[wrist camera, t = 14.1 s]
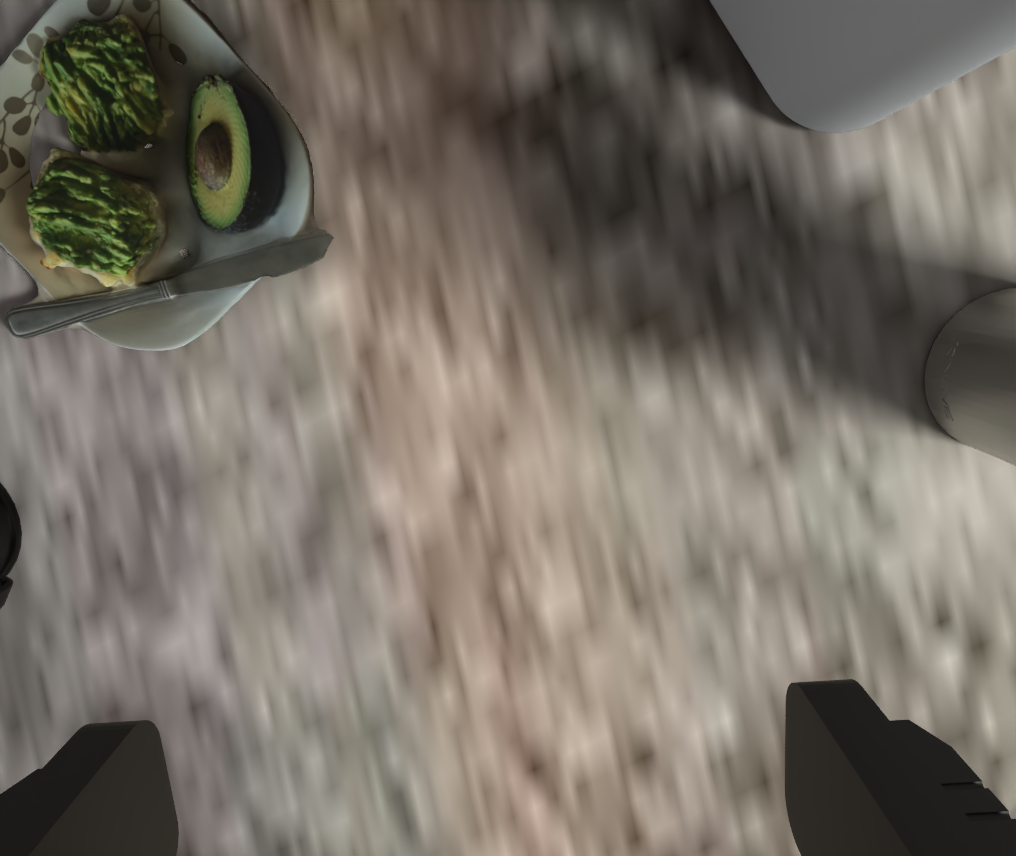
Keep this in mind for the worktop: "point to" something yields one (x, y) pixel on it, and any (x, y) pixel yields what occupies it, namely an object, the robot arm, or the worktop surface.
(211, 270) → the salad plate
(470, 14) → the worktop surface
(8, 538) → the french press
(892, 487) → the worktop surface
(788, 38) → the plastic bottle
